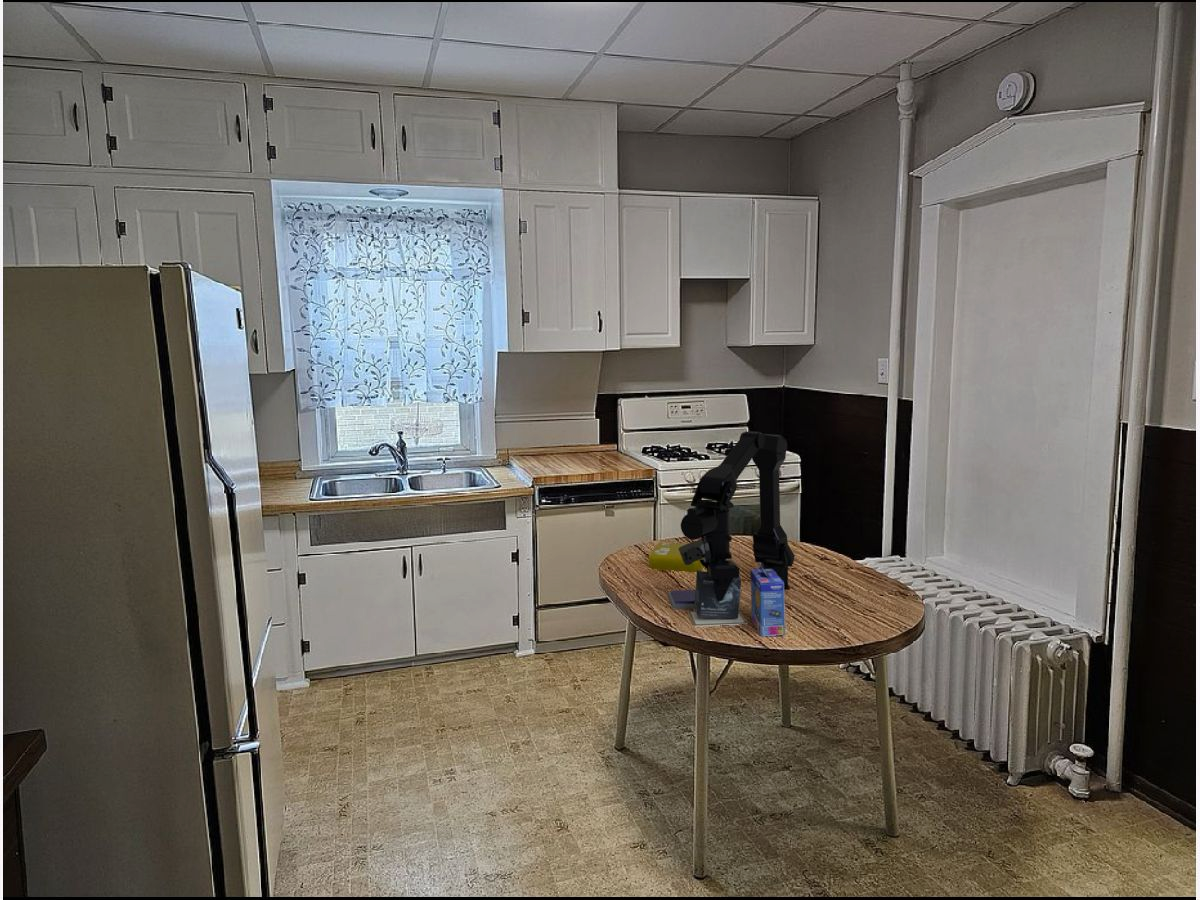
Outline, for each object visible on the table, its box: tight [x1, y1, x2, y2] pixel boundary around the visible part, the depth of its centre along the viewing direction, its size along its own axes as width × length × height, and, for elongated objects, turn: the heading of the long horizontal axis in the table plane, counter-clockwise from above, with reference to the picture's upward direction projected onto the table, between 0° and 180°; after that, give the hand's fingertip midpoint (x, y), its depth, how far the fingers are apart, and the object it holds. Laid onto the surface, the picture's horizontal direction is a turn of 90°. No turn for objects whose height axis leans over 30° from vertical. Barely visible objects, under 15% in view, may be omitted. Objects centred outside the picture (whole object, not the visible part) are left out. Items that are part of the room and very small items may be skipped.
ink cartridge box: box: [750, 562, 786, 637], centre depth 165 cm, size 10×6×14 cm, turn 2°
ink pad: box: [667, 589, 696, 610], centre depth 184 cm, size 9×9×2 cm
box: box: [693, 570, 742, 618], centre depth 172 cm, size 9×6×10 cm, turn 93°
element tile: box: [648, 542, 705, 573], centre depth 215 cm, size 15×15×5 cm
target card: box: [687, 610, 748, 628], centre depth 173 cm, size 12×9×1 cm
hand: (717, 596), depth 172 cm, fingers closed on box, 5 cm apart
